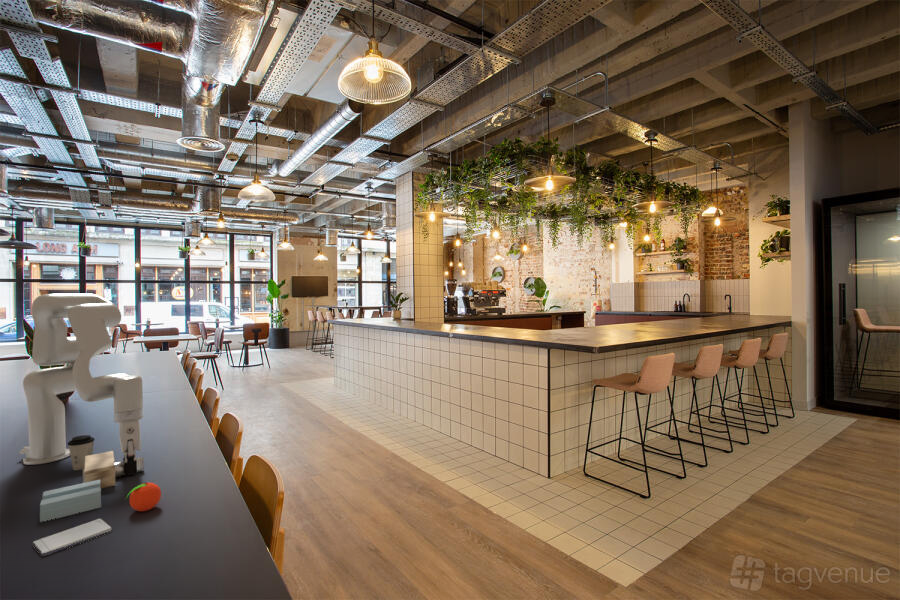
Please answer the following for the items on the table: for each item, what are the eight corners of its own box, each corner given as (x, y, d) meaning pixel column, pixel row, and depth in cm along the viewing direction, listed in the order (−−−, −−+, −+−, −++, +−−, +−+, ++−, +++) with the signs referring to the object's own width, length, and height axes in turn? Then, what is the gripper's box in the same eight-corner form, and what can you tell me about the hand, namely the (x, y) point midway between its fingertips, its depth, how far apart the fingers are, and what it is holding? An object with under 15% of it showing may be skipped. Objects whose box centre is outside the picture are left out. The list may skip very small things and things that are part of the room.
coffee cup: (100, 464, 147) (99, 435, 147) (77, 472, 141) (76, 441, 141) (86, 462, 150) (85, 433, 149) (62, 470, 143) (62, 439, 143)
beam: (85, 492, 127) (84, 471, 126) (85, 474, 139) (85, 456, 139) (115, 485, 131) (114, 465, 131) (113, 468, 143) (113, 450, 143)
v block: (40, 522, 110) (39, 506, 109) (44, 505, 119) (43, 490, 119) (101, 507, 117) (100, 492, 117) (100, 491, 126) (100, 478, 126)
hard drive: (99, 517, 110) (32, 540, 99) (111, 527, 105) (42, 552, 95) (99, 524, 110) (32, 547, 99) (111, 534, 105) (42, 560, 95)
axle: (83, 486, 131) (82, 471, 130) (83, 481, 134) (82, 467, 134) (143, 472, 140) (143, 459, 140) (142, 468, 144) (142, 455, 143)
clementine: (132, 520, 110) (131, 492, 110) (119, 513, 113) (119, 486, 113) (166, 507, 117) (165, 481, 116) (153, 501, 120) (153, 475, 120)
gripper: (145, 418, 135) (146, 476, 135) (140, 407, 148) (142, 461, 149) (114, 423, 130) (116, 483, 131) (113, 411, 144) (114, 467, 144)
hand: (130, 471), depth 140 cm, fingers closed on axle, 4 cm apart
